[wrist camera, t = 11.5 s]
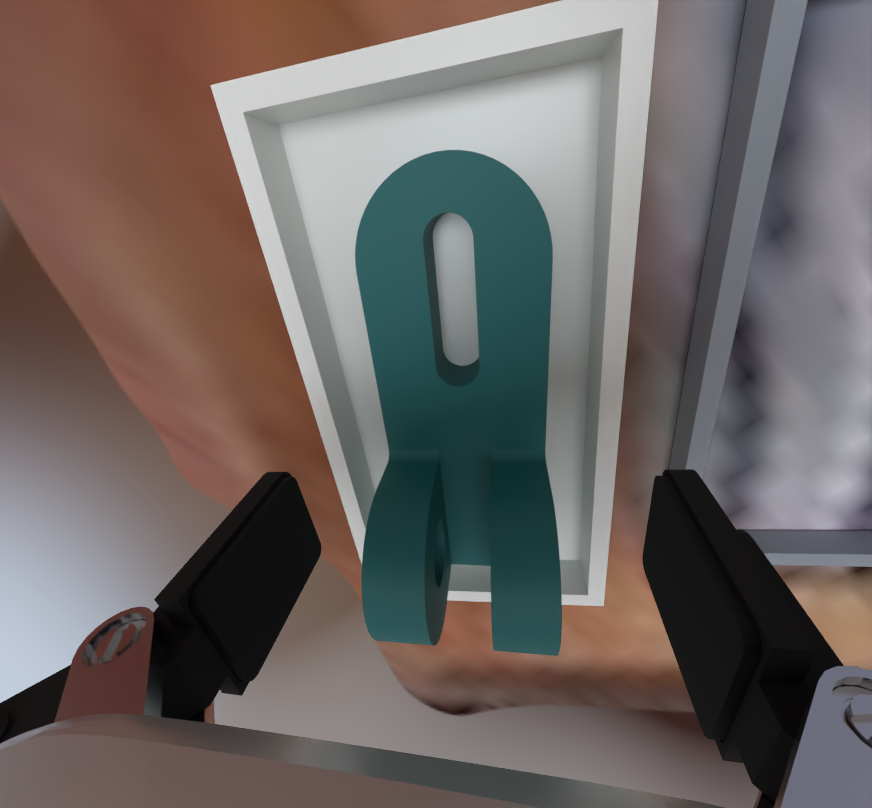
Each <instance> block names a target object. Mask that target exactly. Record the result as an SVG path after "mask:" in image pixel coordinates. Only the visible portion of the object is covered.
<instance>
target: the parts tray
mask: <svg viewBox="0 0 872 808" xmlns="http://www.w3.org/2000/svg"><path fill="white" fill-rule="evenodd" d="M658 1H659V0H562V1H557V2H553V3H549V4H545V5H541V6H537V7H533V8H528V9H524V10H520V11H516V12H512V13H508V14H504V15H499V16H495V17H491V18H487V19H483V20H479V21H475V22H470V23H466V24H462V25H458V26H454V27H450V28H446V29H441V30H437V31H433V32H429V33H425V34H421V35H417V36H412V37H408V38H404V39H400V40H396V41H392V42H388V43H383V44H379V45H375V46H371V47H367V48H363V49H359V50H354V51H350V52H346V53H342V54H338V55H334V56H330V57H325V58H321V59H317V60H313V61H309V62H305V63H301V64H296V65H292V66H288V67H284V68H280V69H276V70H272V71H268V72H263V73H259V74H255V75H251V76H247V77H243V78H239V79H234V80H230V81H226V82H222V83H218V84H214V85H210V86H211V89H212V92H213V95H214V98H215V102H216V105H217V108H218V111H219V114H220V117H221V121H222V124H223V127H224V130H225V133H226V136H227V140H228V143H229V146H230V149H231V152H232V155H233V159H234V162H235V165H236V168H237V171H238V174H239V178H240V181H241V184H242V187H243V190H244V193H245V196H246V200H247V203H248V206H249V209H250V212H251V215H252V219H253V222H254V225H255V228H256V231H257V234H258V238H259V241H260V244H261V247H262V250H263V253H264V257H265V260H266V263H267V266H268V269H269V272H270V276H271V279H272V282H273V285H274V288H275V291H276V295H277V298H278V301H279V304H280V307H281V310H282V314H283V317H284V320H285V323H286V326H287V329H288V333H289V336H290V339H291V342H292V345H293V348H294V352H295V355H296V358H297V361H298V364H299V367H300V370H301V374H302V377H303V380H304V383H305V386H306V389H307V393H308V396H309V399H310V402H311V405H312V408H313V412H314V415H315V418H316V421H317V424H318V427H319V431H320V434H321V437H322V440H323V443H324V446H325V450H326V453H327V456H328V459H329V462H330V465H331V469H332V472H333V475H334V478H335V481H336V484H337V488H338V491H339V494H340V497H341V500H342V503H343V507H344V510H345V513H346V516H347V519H348V522H349V526H350V529H351V532H352V535H353V538H354V541H355V545H356V548H357V551H358V554H359V557H360V560H361V563H362V558H363V547H364V539H365V532H366V526H367V521H368V516H369V512H370V508H371V504H372V501H373V498H374V495H375V492H376V490H377V487H378V485H379V483H380V480H381V478H382V475H383V473H384V471H385V468H386V466H387V463H388V460H389V448H388V443H387V437H386V432H385V426H384V421H383V415H382V410H381V404H380V399H379V393H378V388H377V383H376V377H375V372H374V366H373V361H372V355H371V350H370V344H369V339H368V333H367V328H366V322H365V317H364V311H363V306H362V301H361V295H360V290H359V284H358V279H357V272H356V265H355V247H356V238H357V232H358V228H359V224H360V221H361V218H362V215H363V213H364V210H365V208H366V206H367V204H368V202H369V201H370V199H371V197H372V196H373V194H374V193H375V191H376V190H377V188H378V187H379V186H380V185H381V184H382V183H383V181H384V180H385V179H386V178H387V177H388V176H390V175H391V174H392V173H393V172H394V171H395V170H397V169H398V168H399V167H401V166H402V165H404V164H406V163H407V162H409V161H411V160H413V159H415V158H417V157H420V156H422V155H425V154H429V153H432V152H436V151H444V150H464V151H472V152H476V153H480V154H484V155H486V156H489V157H491V158H493V159H496V160H497V161H499V162H501V163H503V164H505V165H506V166H507V167H509V168H510V169H512V170H513V171H514V172H516V173H517V174H518V175H519V176H520V177H521V178H522V179H523V180H524V181H525V182H526V184H527V185H528V186H529V187H530V188H531V190H532V191H533V192H534V194H535V196H536V197H537V199H538V200H539V202H540V204H541V206H542V208H543V210H544V213H545V215H546V218H547V221H548V224H549V228H550V233H551V238H552V247H553V265H552V291H551V317H550V343H549V369H548V395H547V421H546V447H545V455H546V464H547V470H548V475H549V480H550V485H551V490H552V496H553V502H554V508H555V516H556V524H557V533H558V544H559V556H560V572H561V595H562V605H587V606H604V595H605V584H606V573H607V562H608V551H609V540H610V529H611V518H612V507H613V496H614V485H615V474H616V463H617V452H618V441H619V430H620V419H621V408H622V397H623V386H624V375H625V364H626V353H627V342H628V331H629V320H630V309H631V298H632V287H633V276H634V265H635V254H636V243H637V232H638V221H639V210H640V199H641V188H642V177H643V166H644V155H645V144H646V133H647V122H648V111H649V100H650V89H651V78H652V67H653V56H654V45H655V34H656V23H657V12H658ZM433 246H434V257H435V268H436V278H437V289H438V300H439V311H440V321H441V332H442V343H443V351H444V354H445V356H446V358H447V359H448V360H449V361H450V362H452V363H453V364H456V365H460V366H465V365H469V364H472V363H473V362H475V361H476V360H477V359H478V357H479V344H478V323H477V303H476V282H475V262H474V241H473V233H472V230H471V227H470V225H469V224H468V222H467V221H466V220H465V219H464V218H463V217H461V216H460V215H457V214H455V213H446V214H444V215H442V216H441V217H440V218H439V219H438V220H437V222H436V224H435V226H434V229H433ZM447 600H453V601H479V602H491V567H490V566H479V565H458V564H451V573H450V581H449V589H448V597H447Z"/></svg>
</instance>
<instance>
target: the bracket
mask: <svg viewBox="0 0 872 808" xmlns="http://www.w3.org/2000/svg"><path fill="white" fill-rule="evenodd" d="M446 213H455V214H457V215H460V216H461V217H463V218H464V219H465V220H466V221H467V222H468V224H469V225H470V227H471V230H472V233H473V241H474V262H475V282H476V303H477V323H478V344H479V357H478V359H477V360H476V361H475V362H473V363H472V364H469V365H465V366H460V365H456V364H453V363H452V362H450V361H449V360H448V359H447V358H446V356H445V354H444V351H443V343H442V332H441V321H440V311H439V300H438V289H437V278H436V268H435V257H434V246H433V229H434V226H435V224H436V222H437V220H438V219H439V218H440V217H441V216H442V215H444V214H446ZM355 265H356V272H357V279H358V284H359V290H360V295H361V301H362V306H363V311H364V317H365V322H366V328H367V333H368V339H369V344H370V350H371V355H372V361H373V366H374V372H375V377H376V383H377V388H378V393H379V399H380V404H381V410H382V415H383V421H384V426H385V432H386V437H387V443H388V448H389V460H388V463H387V466H386V468H385V471H384V473H383V475H382V478H381V480H380V483H379V485H378V487H377V490H376V492H375V495H374V498H373V501H372V504H371V508H370V512H369V516H368V521H367V526H366V532H365V539H364V547H363V558H362V602H363V611H364V617H365V622H366V625H367V628H368V631H369V633H370V635H371V637H372V638H373V639H374V640H376V641H387V642H399V643H411V644H423V645H436V644H437V643H438V641H439V639H440V636H441V632H442V628H443V624H444V618H445V612H446V605H447V597H448V589H449V581H450V573H451V564H458V565H479V566H490V567H491V613H492V638H493V650H494V651H506V652H518V653H530V654H542V655H554V656H557V655H558V654H559V650H560V644H561V630H562V595H561V572H560V556H559V544H558V533H557V524H556V516H555V508H554V502H553V496H552V490H551V485H550V480H549V475H548V470H547V464H546V455H545V447H546V421H547V395H548V369H549V343H550V317H551V291H552V265H553V247H552V238H551V233H550V228H549V224H548V221H547V218H546V215H545V213H544V210H543V208H542V206H541V204H540V202H539V200H538V199H537V197H536V196H535V194H534V192H533V191H532V190H531V188H530V187H529V186H528V185H527V184H526V182H525V181H524V180H523V179H522V178H521V177H520V176H519V175H518V174H517V173H516V172H514V171H513V170H512V169H510V168H509V167H507V166H506V165H505V164H503V163H501V162H499V161H497V160H496V159H493V158H491V157H489V156H486V155H484V154H480V153H476V152H472V151H464V150H444V151H436V152H432V153H429V154H425V155H422V156H420V157H417V158H415V159H413V160H411V161H409V162H407V163H406V164H404V165H402V166H401V167H399V168H398V169H397V170H395V171H394V172H393V173H392V174H391V175H390V176H388V177H387V178H386V179H385V180H384V181H383V183H382V184H381V185H380V186H379V187H378V188H377V190H376V191H375V193H374V194H373V196H372V197H371V199H370V201H369V202H368V204H367V206H366V208H365V210H364V213H363V215H362V218H361V221H360V224H359V228H358V232H357V238H356V247H355Z"/></svg>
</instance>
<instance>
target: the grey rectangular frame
mask: <svg viewBox="0 0 872 808" xmlns="http://www.w3.org/2000/svg"><path fill="white" fill-rule="evenodd" d="M807 2H808V0H747V4H746V10H745V16H744V22H743V28H742V34H741V40H740V46H739V52H738V58H737V64H736V70H735V76H734V82H733V88H732V94H731V100H730V106H729V112H728V118H727V124H726V130H725V136H724V142H723V148H722V154H721V160H720V166H719V172H718V178H717V184H716V190H715V196H714V202H713V208H712V214H711V220H710V226H709V232H708V238H707V244H706V250H705V256H704V262H703V268H702V274H701V280H700V286H699V292H698V298H697V304H696V310H695V316H694V322H693V328H692V334H691V340H690V346H689V352H688V358H687V364H686V370H685V376H684V382H683V388H682V394H681V400H680V406H679V412H678V418H677V424H676V430H675V436H674V442H673V448H672V454H671V460H670V466H669V469H693V470H695V471H696V472H697V473H698V474H699V476H700V477H701V479H702V480H703V477H704V473H705V468H706V463H707V459H708V454H709V450H710V445H711V441H712V436H713V431H714V427H715V422H716V418H717V413H718V409H719V404H720V399H721V395H722V390H723V386H724V381H725V377H726V372H727V367H728V363H729V358H730V354H731V349H732V345H733V340H734V335H735V331H736V326H737V322H738V317H739V313H740V308H741V303H742V299H743V294H744V290H745V285H746V281H747V276H748V271H749V267H750V262H751V258H752V253H753V249H754V244H755V239H756V235H757V230H758V226H759V221H760V217H761V212H762V207H763V203H764V198H765V194H766V189H767V185H768V180H769V175H770V171H771V166H772V162H773V157H774V153H775V148H776V143H777V139H778V134H779V130H780V125H781V121H782V116H783V111H784V107H785V102H786V98H787V93H788V89H789V84H790V79H791V75H792V70H793V66H794V61H795V57H796V52H797V47H798V43H799V38H800V34H801V29H802V25H803V20H804V15H805V11H806V6H807ZM744 531H746V532H747V533H749V535H750V536H751V537H752V538H753V539H754V540H755V542H756V543H757V545H758V546H759V547H760V549H761V550H762V552H763V553H764V554H765V556H766V557H767V559H768V560H769V561H770V563H771V564H772V565H806V566H864V567H872V531H828V530H744Z"/></svg>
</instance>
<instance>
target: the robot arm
mask: <svg viewBox="0 0 872 808" xmlns="http://www.w3.org/2000/svg"><path fill="white" fill-rule="evenodd" d="M320 554H321V543H320V540H319V538H318V535H317V533H316V530H315V527H314V525H313V522H312V519H311V517H310V514H309V512H308V509H307V506H306V504H305V501H304V499H303V496H302V493H301V491H300V488H299V486H298V483H297V481H296V479H295V478H294V477H292V476H291V475H290V474H289V473H288V472H268V473H266V474H264V475H263V476H262V477H261V479H260V480H259V481H258V482H257V483H256V484H255V485H254V487H253V488H252V489H251V490H250V491H249V492H248V493H247V494H246V496H245V497H244V498H243V499H242V500H241V501H240V502H239V504H238V505H237V506H236V507H235V508H234V509H233V510H232V512H231V513H230V514H229V515H228V516H227V517H226V519H225V520H224V521H223V522H222V523H221V524H220V525H219V526H218V528H217V529H216V530H215V531H214V532H213V533H212V534H211V535H210V537H209V538H208V539H207V540H206V541H205V543H204V544H203V545H202V546H201V547H200V548H199V549H198V550H197V552H196V553H195V554H194V555H193V556H192V557H191V558H190V559H189V561H188V562H187V563H186V564H185V565H184V566H183V568H182V569H181V570H180V571H179V572H178V573H177V574H176V575H175V577H174V578H173V579H172V580H171V581H170V582H169V583H168V584H167V586H166V587H165V588H164V589H163V590H162V591H161V592H160V594H159V595H158V596H157V597H156V598H155V601H156V602H157V604H158V605H159V607H158V608H157V609H156V610H155V612H154V613H153V612H152V611H151V610H150V609H149V608H146V607H135V608H130V609H128V610H125V611H122V612H120V613H118V614H116V615H114V616H113V617H111V618H109V619H108V620H106V621H105V622H103V623H102V624H101V625H99V626H98V627H97V628H96V629H95V630H94V631H93V632H91V633H90V634H89V635H88V636H87V637H86V639H85V640H84V641H83V643H82V644H81V645H80V646H79V648H78V649H77V651H76V654H75V655H74V658H73V660H72V664H71V665H70V666H68V667H66V668H64V669H62V670H60V671H59V672H57V673H55V674H53V675H51V676H49V677H48V678H46V679H44V680H42V681H40V682H38V683H37V684H35V685H33V686H31V687H29V688H27V689H25V690H24V691H22V692H20V693H18V694H16V695H14V696H13V697H11V698H9V699H7V700H6V701H3V702H2V703H0V808H724V807H719V806H715V805H711V804H707V803H702V802H697V801H692V800H686V799H680V798H675V797H669V796H664V795H658V794H653V793H647V792H642V791H636V790H630V789H625V788H619V787H613V786H608V785H603V784H597V783H591V782H584V781H578V780H572V779H566V778H560V777H554V776H547V775H541V774H535V773H529V772H522V771H516V770H510V769H504V768H497V767H491V766H485V765H479V764H473V763H466V762H460V761H453V760H447V759H441V758H434V757H428V756H421V755H415V754H409V753H402V752H396V751H390V750H382V749H376V748H370V747H364V746H357V745H351V744H344V743H338V742H331V741H325V740H318V739H311V738H305V737H299V736H291V735H285V734H278V733H272V732H265V731H258V730H251V729H245V728H238V727H231V726H225V725H218V724H215V723H214V722H215V720H214V698H215V696H216V695H217V693H218V691H219V689H220V690H221V692H222V693H227V694H234V695H242V694H243V693H244V691H245V689H246V687H247V685H248V683H249V681H252V680H253V679H254V678H255V677H256V676H257V675H258V673H259V671H260V669H261V667H262V666H263V664H264V662H265V660H266V658H267V656H268V654H269V652H270V650H271V648H272V646H273V644H274V642H275V641H276V639H277V637H278V635H279V633H280V631H281V629H282V627H283V626H284V624H285V622H286V620H287V618H288V616H289V614H290V612H291V610H292V608H293V606H294V604H295V603H296V601H297V599H298V597H299V595H300V593H301V591H302V589H303V587H304V585H305V584H306V582H307V580H308V578H309V576H310V574H311V572H312V570H313V568H314V566H315V565H316V563H317V561H318V559H319V557H320ZM643 566H644V571H645V574H646V577H647V579H648V582H649V585H650V588H651V590H652V593H653V596H654V599H655V601H656V604H657V607H658V610H659V613H660V615H661V618H662V621H663V624H664V626H665V629H666V632H667V635H668V638H669V640H670V643H671V646H672V649H673V651H674V654H675V657H676V660H677V663H678V665H679V668H680V671H681V674H682V676H683V679H684V682H685V685H686V688H687V690H688V693H689V696H690V699H691V701H692V704H693V707H694V710H695V713H696V715H697V718H698V721H699V724H700V726H701V729H702V731H703V733H704V735H705V736H706V737H707V738H708V739H715V741H716V744H717V746H718V749H719V751H720V754H721V756H722V759H723V760H725V761H733V762H739V763H744V765H745V767H746V770H747V772H748V774H749V777H750V779H751V782H752V783H753V784H754V785H755V786H756V787H757V788H758V789H759V792H758V795H757V798H756V801H755V804H754V807H753V808H872V671H871V670H867V669H863V668H859V667H855V666H844V665H843V664H842V663H841V661H840V660H839V658H838V657H837V656H836V654H835V653H834V651H833V650H832V649H831V647H830V646H829V644H828V643H827V642H826V640H825V639H824V637H823V636H822V635H821V633H820V632H819V630H818V629H817V628H816V626H815V625H814V623H813V622H812V620H811V619H810V618H809V616H808V615H807V613H806V612H805V611H804V609H803V608H802V606H801V605H800V604H799V602H798V601H797V599H796V598H795V597H794V595H793V594H792V592H791V591H790V590H789V588H788V587H787V585H786V584H785V583H784V581H783V580H782V578H781V577H780V575H779V574H778V573H777V571H776V570H775V568H774V567H773V566H772V564H771V563H770V561H769V560H768V559H767V557H766V556H765V554H764V553H763V552H762V550H761V549H760V547H759V546H758V545H757V543H756V542H755V540H754V539H753V538H752V537H751V536H750V535H749V533H747V532H746V531H744V530H736V529H735V527H734V526H733V524H732V523H731V522H730V520H729V519H728V517H727V516H726V514H725V513H724V511H723V510H722V508H721V507H720V505H719V504H718V502H717V501H716V499H715V498H714V496H713V495H712V494H711V492H710V491H709V489H708V488H707V486H706V485H705V483H704V482H703V480H702V479H701V477H700V476H699V474H698V473H697V472H696V471H695V470H693V469H667V470H665V471H664V472H663V476H656V477H655V480H654V486H653V492H652V499H651V505H650V512H649V518H648V524H647V531H646V537H645V544H644V550H643Z"/></svg>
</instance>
